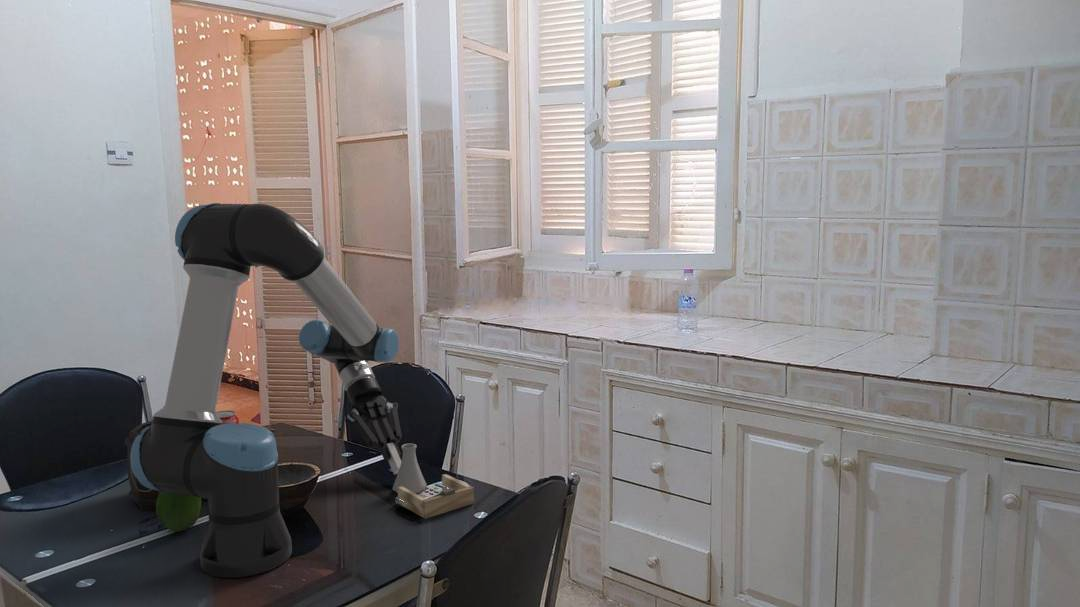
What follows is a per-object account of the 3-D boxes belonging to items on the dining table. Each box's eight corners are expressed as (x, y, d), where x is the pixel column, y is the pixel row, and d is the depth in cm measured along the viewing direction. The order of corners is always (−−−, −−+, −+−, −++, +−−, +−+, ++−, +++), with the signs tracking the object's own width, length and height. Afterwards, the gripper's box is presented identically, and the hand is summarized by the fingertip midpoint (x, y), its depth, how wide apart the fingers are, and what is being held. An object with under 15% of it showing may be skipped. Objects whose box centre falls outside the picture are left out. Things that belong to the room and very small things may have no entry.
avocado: (208, 520, 150) (204, 462, 149) (195, 537, 143) (191, 476, 141) (166, 522, 149) (162, 463, 148) (150, 539, 142) (146, 478, 140)
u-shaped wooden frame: (474, 503, 158) (474, 483, 158) (425, 519, 151) (424, 498, 150) (446, 489, 166) (445, 470, 166) (398, 503, 159) (397, 483, 158)
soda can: (215, 457, 188) (212, 410, 186) (244, 455, 189) (242, 409, 187) (205, 466, 181) (202, 418, 180) (236, 465, 182) (233, 417, 180)
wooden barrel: (211, 510, 155) (206, 436, 153) (117, 516, 152) (111, 440, 150) (232, 479, 173) (228, 412, 171) (149, 483, 170) (144, 416, 168)
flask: (409, 481, 171) (408, 438, 170) (433, 488, 167) (432, 444, 166) (386, 490, 166) (384, 446, 164) (409, 498, 161) (408, 453, 160)
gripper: (340, 380, 173) (378, 469, 163) (390, 372, 182) (429, 456, 171) (330, 398, 178) (367, 486, 168) (380, 389, 186) (417, 472, 176)
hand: (399, 470), depth 170 cm, fingers closed
